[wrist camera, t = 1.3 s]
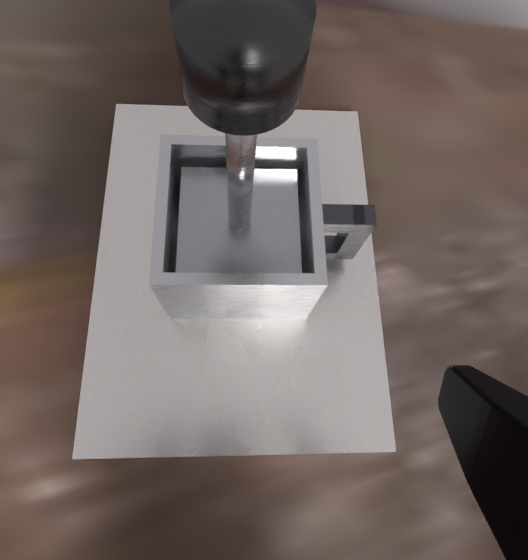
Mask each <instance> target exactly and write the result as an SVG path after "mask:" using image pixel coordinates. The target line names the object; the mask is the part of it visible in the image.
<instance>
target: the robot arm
mask: <svg viewBox="0 0 528 560" xmlns="http://www.w3.org/2000/svg"><path fill="white" fill-rule="evenodd" d="M438 406H439V410H440V413H441V416H442V418H443V421H444V423H445V426H446V429H447V431H448V434H449V437H450V439H451V442H452V444H453V447H454V450H455V452H456V455H457V457H458V460H459V463H460V465H461V468H462V470H463V473H464V475H465V478H466V480H467V482H468V484H469V486H470V489H471V491H472V493H473V495H474V497H475V499H476V501H477V503H478V505H479V507H480V509H481V511H482V513H483V515H484V517H485V519H486V521H487V523H488V525H489V527H490V529H491V530H492V532H493V534H494V536H495V538H496V540H497V542H498V544H499V546H500V548H501V550H502V552H503V554H504V556H505V558H506V560H528V396H526V395H524V394H522V393H520V392H519V391H517V390H515V389H513V388H511V387H509V386H507V385H505V384H503V383H502V382H500V381H498V380H496V379H494V378H492V377H490V376H488V375H487V374H485V373H483V372H481V371H479V370H477V369H475V368H473V367H471V366H469V365H452V366H449V367H447V369H446V370H445V373H444V377H443V381H442V385H441V389H440V393H439V397H438Z"/></svg>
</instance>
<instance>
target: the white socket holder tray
mask: <svg viewBox="0 0 528 560" xmlns="http://www.w3.org/2000/svg"><path fill="white" fill-rule="evenodd" d="M181 167H209V168H227V167H226V138H225V133H223V132H220V131H217V130H215V129H213V128H211V127H209V126H207V125H205V124H204V123H203V122H201V121H200V120H199V119H198V118H197V117H196V116H195V115H194V114H193V113H192V112H191V110H190V109H189V107H188V106H168V105H136V104H116V110H115V118H114V126H113V134H112V142H111V150H110V158H109V166H108V174H107V182H106V190H105V198H104V206H103V215H102V223H101V231H100V239H99V247H98V255H97V263H96V271H95V279H94V287H93V295H92V303H91V311H90V320H89V328H88V336H87V344H86V352H85V360H84V368H83V376H82V384H81V392H80V400H79V408H78V416H77V424H76V433H75V441H74V449H73V457H72V459H106V458H149V457H192V456H235V455H278V454H322V453H365V452H396V447H395V438H394V429H393V420H392V412H391V403H390V394H389V385H388V376H387V367H386V359H385V350H384V341H383V332H382V323H381V314H380V306H379V297H378V288H377V279H376V270H375V261H374V253H373V244H372V235H371V232H372V231H373V230H374V228H375V227H376V225H377V224H376V215H375V207H374V205H368V200H367V191H366V182H365V173H364V164H363V155H362V147H361V138H360V129H359V120H358V112H354V111H323V110H295V111H294V113H293V114H292V115H291V117H290V118H289V119H288V120H287V121H286V122H284V123H283V124H282V125H280V126H279V127H277V128H275V129H273V130H271V131H268V132H265V133H261V134H257V141H256V155H255V168H254V169H297V184H298V204H299V223H300V243H301V263H302V273H176V255H177V237H178V219H179V201H180V184H181Z"/></svg>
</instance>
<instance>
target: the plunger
mask: <svg viewBox="0 0 528 560" xmlns="http://www.w3.org/2000/svg"><path fill="white" fill-rule="evenodd" d="M170 11H171V18H172V24H173V31H174V37H175V43H176V50H177V56H178V62H179V69H180V75H181V82H182V88H183V94H184V98H185V101H186V103H187V105H188V107H189V109H190V110H191V112H192V113H193V114H194V115H195V116H196V117H197V118H198V119H199V120H200V121H201V122H203V123H204V124H205V125H207V126H209V127H211V128H213V129H215V130H217V131H220V132H223V133H225V138H226V167H227V168H209V167H181V184H180V201H179V219H178V237H177V255H176V273H302V263H301V243H300V223H299V204H298V184H297V169H254V168H255V155H256V141H257V134H261V133H265V132H268V131H271V130H273V129H275V128H277V127H279V126H280V125H282V124H283V123H284V122H286V121H287V120H288V119H289V118H290V117H291V115H292V114H293V113H294V111H295V109H296V108H297V105H298V103H299V99H300V94H301V88H302V83H303V78H304V73H305V68H306V63H307V58H308V53H309V47H310V42H311V37H312V32H313V27H314V22H315V17H316V2H315V0H170Z"/></svg>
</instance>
